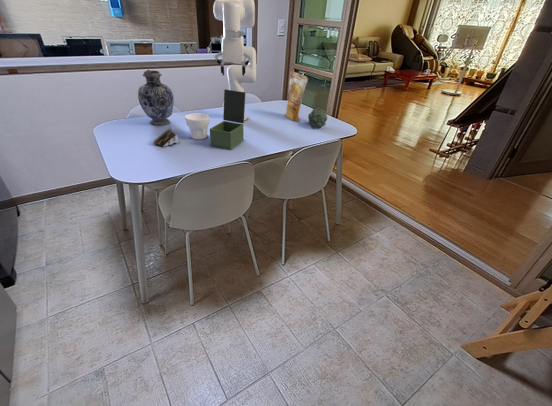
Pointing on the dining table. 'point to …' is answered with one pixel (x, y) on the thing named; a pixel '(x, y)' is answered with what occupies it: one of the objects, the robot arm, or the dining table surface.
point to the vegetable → (317, 118)
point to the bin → (226, 135)
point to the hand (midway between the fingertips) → (233, 75)
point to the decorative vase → (156, 98)
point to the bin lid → (234, 106)
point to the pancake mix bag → (295, 94)
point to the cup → (197, 124)
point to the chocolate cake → (166, 138)
